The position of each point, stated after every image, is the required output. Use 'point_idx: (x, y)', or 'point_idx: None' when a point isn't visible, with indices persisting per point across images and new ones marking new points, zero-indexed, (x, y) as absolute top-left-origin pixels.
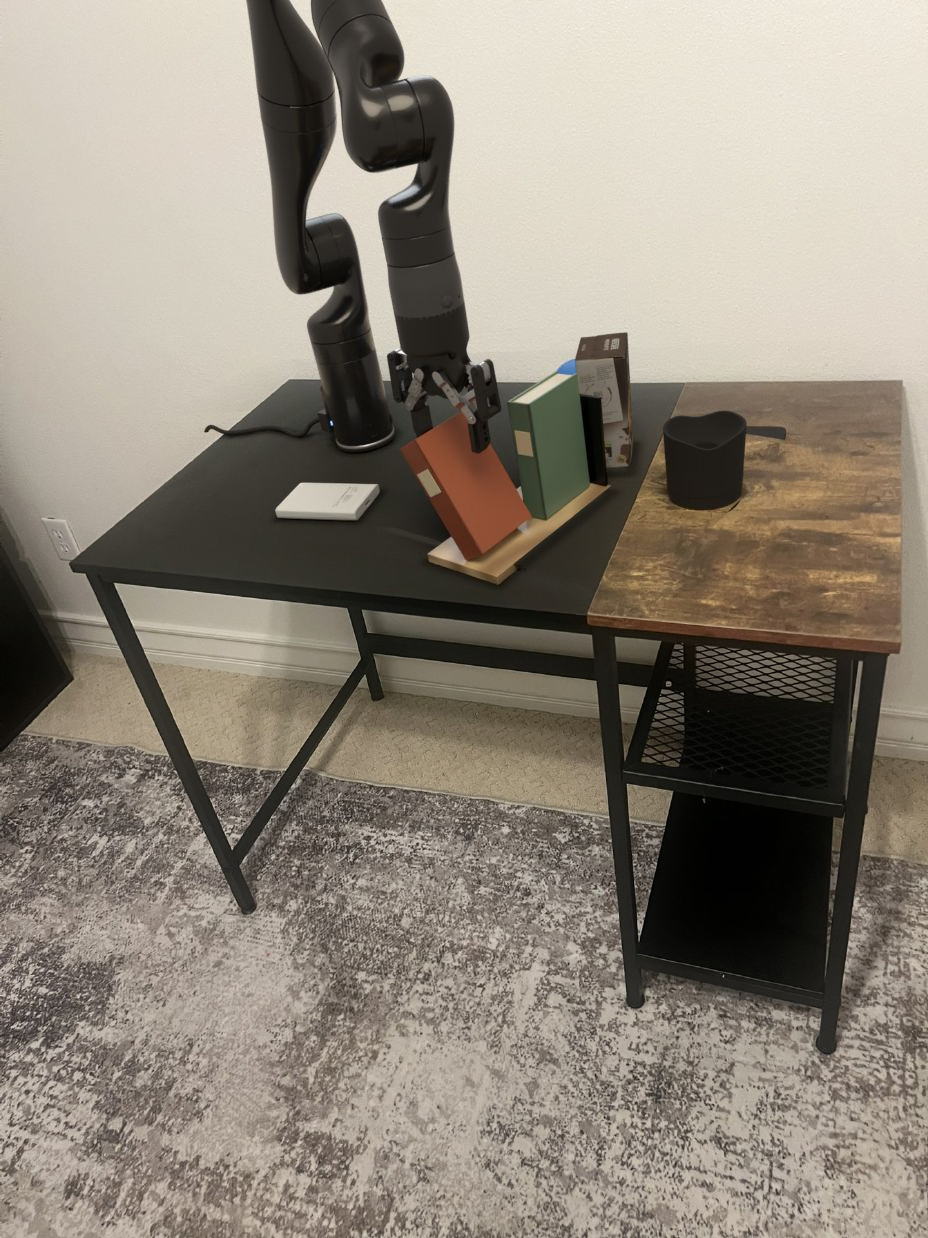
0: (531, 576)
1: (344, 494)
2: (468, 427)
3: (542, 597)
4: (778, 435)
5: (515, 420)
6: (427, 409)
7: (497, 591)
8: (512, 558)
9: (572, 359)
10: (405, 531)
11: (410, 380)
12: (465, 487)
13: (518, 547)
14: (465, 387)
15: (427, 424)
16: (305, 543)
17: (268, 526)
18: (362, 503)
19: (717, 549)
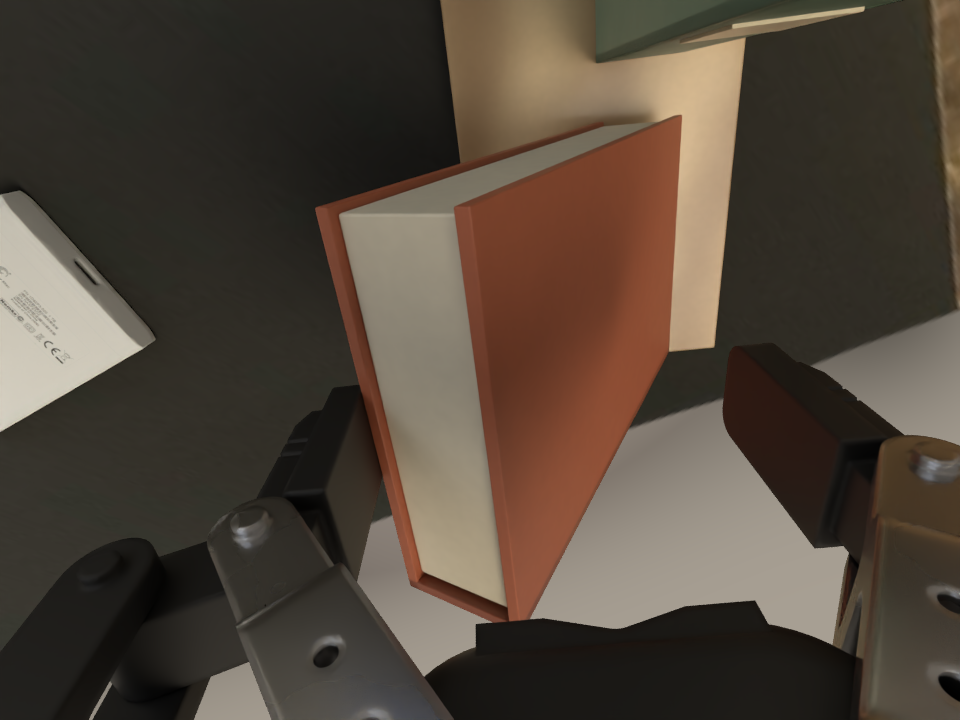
0: (760, 269)
1: (4, 302)
2: (802, 526)
3: (829, 316)
4: None
5: (789, 10)
6: (337, 488)
7: (716, 353)
8: (705, 272)
9: None
10: (310, 298)
11: (95, 698)
12: (619, 368)
13: (688, 223)
14: (859, 629)
15: (360, 446)
16: (168, 455)
17: (16, 459)
18: (100, 303)
19: None
